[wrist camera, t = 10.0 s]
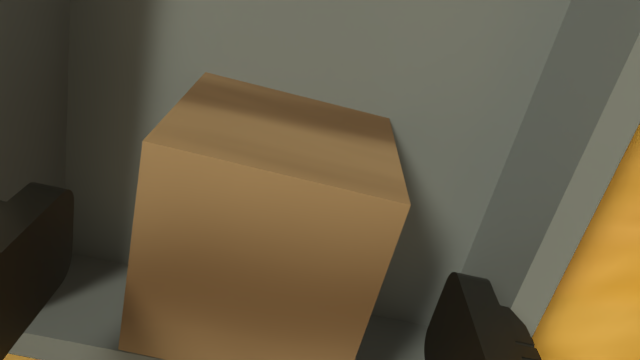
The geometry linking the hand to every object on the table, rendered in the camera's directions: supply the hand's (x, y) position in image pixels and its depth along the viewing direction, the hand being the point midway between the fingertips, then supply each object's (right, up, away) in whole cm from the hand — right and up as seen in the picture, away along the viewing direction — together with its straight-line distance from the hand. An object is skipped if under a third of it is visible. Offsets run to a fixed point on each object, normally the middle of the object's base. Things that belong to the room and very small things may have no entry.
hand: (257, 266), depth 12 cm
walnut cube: (0, +2, +4) cm, 4 cm away
